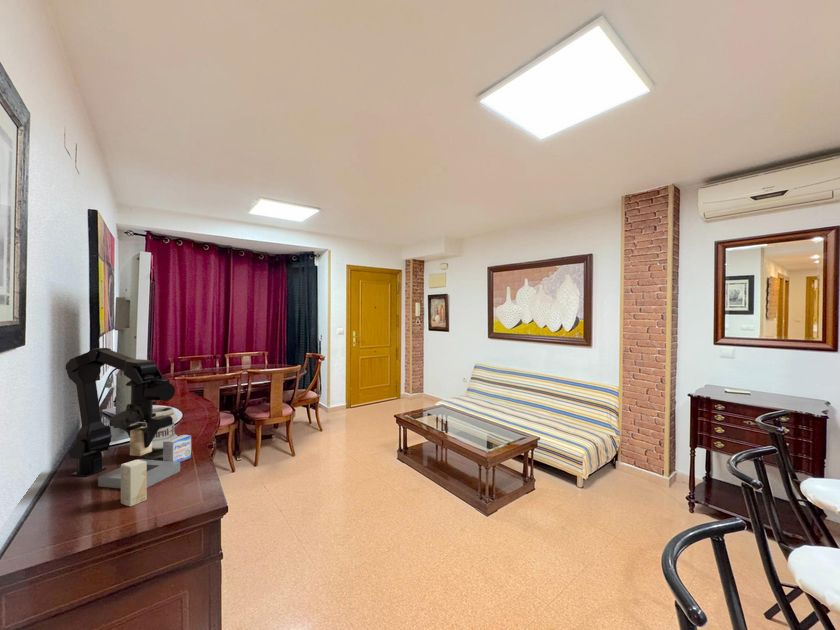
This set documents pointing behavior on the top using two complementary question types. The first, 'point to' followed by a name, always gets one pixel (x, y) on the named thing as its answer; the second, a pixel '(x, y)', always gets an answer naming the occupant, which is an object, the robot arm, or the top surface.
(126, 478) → the box
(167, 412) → the apothecary jar
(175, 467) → the pocket plate
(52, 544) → the top surface
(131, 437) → the maple block
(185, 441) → the medicine box
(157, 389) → the robot arm
